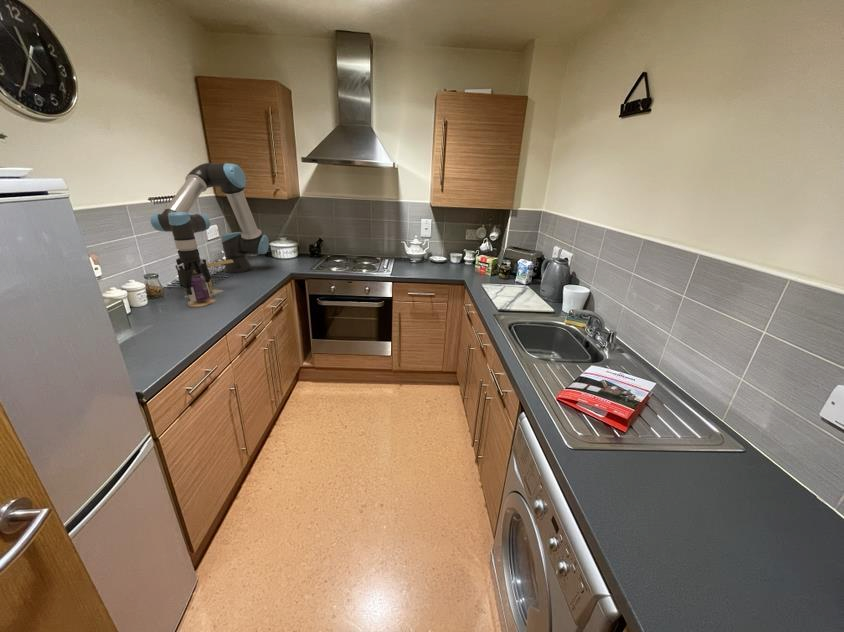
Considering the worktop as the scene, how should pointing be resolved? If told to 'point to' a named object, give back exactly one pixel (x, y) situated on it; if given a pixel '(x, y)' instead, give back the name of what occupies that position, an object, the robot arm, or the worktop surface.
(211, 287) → the turnkey
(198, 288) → the purple glass
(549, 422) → the worktop surface
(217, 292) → the key plate
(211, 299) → the coaster
